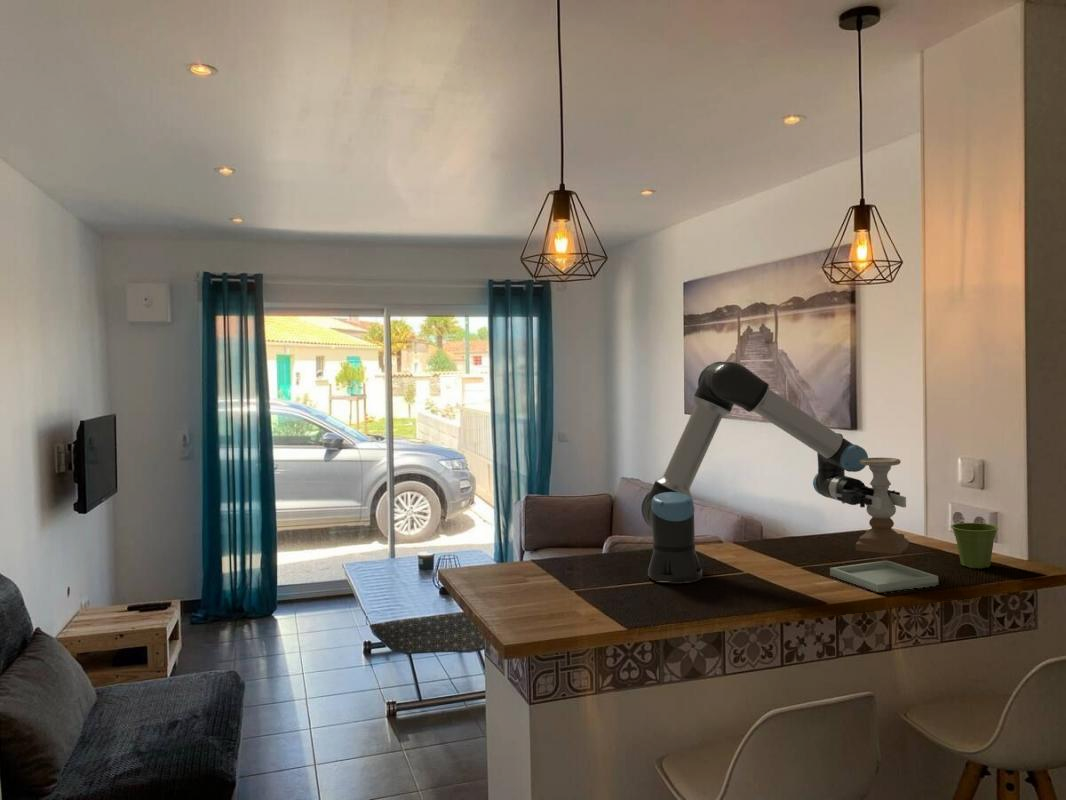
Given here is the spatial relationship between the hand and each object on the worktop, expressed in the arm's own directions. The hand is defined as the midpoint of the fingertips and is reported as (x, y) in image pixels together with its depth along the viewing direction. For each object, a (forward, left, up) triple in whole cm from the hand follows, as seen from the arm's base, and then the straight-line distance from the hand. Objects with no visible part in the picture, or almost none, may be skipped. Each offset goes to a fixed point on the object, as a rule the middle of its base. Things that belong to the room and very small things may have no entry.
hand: (892, 503), depth 217 cm
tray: (+1, +5, -22) cm, 22 cm away
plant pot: (+34, +7, -22) cm, 41 cm away
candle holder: (+1, +5, -13) cm, 14 cm away
